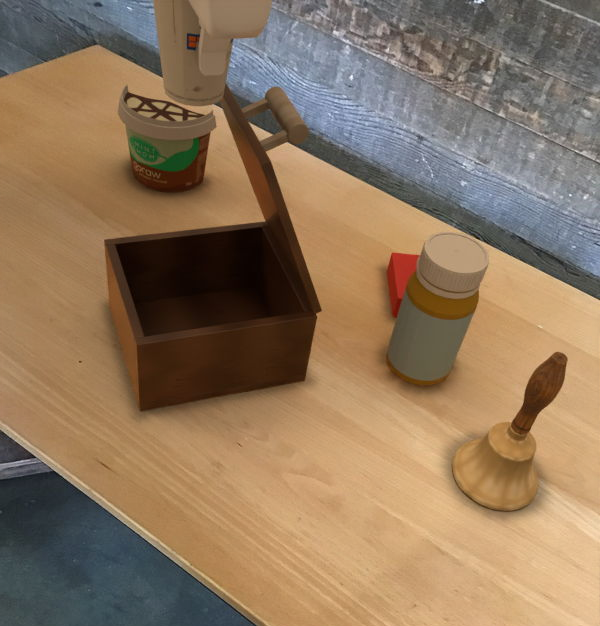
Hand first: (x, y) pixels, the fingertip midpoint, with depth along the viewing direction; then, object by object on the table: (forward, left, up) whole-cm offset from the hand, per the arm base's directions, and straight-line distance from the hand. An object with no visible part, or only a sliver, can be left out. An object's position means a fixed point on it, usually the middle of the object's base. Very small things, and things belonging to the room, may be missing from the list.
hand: (194, 44), depth 56 cm
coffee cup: (0, 0, -4) cm, 4 cm away
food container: (+4, +28, -31) cm, 41 cm away
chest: (+2, -1, -30) cm, 30 cm away
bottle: (+23, -9, -31) cm, 39 cm away
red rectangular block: (+28, +1, -31) cm, 41 cm away
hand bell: (+24, -24, -31) cm, 45 cm away
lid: (+6, -1, -13) cm, 14 cm away
